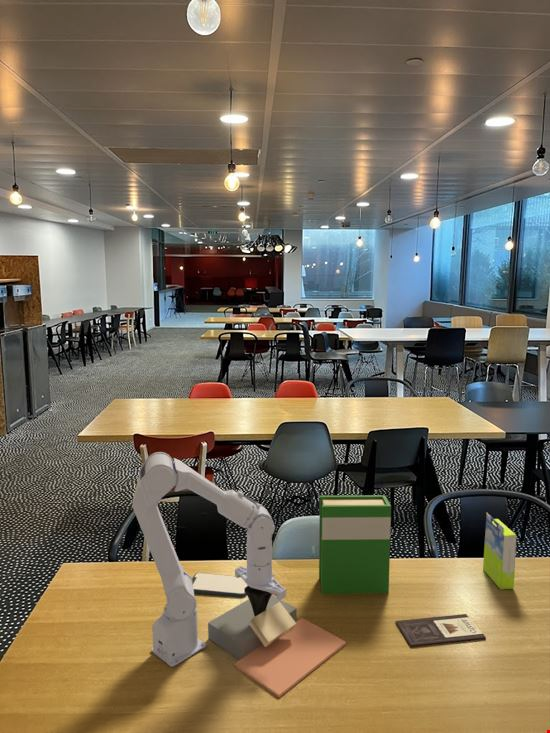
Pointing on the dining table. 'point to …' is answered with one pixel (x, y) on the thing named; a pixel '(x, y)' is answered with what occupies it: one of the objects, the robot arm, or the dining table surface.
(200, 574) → the phone case
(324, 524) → the hardback book
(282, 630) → the tile
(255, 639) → the block
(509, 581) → the box
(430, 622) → the chocolate bar
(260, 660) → the mat
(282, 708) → the dining table surface
